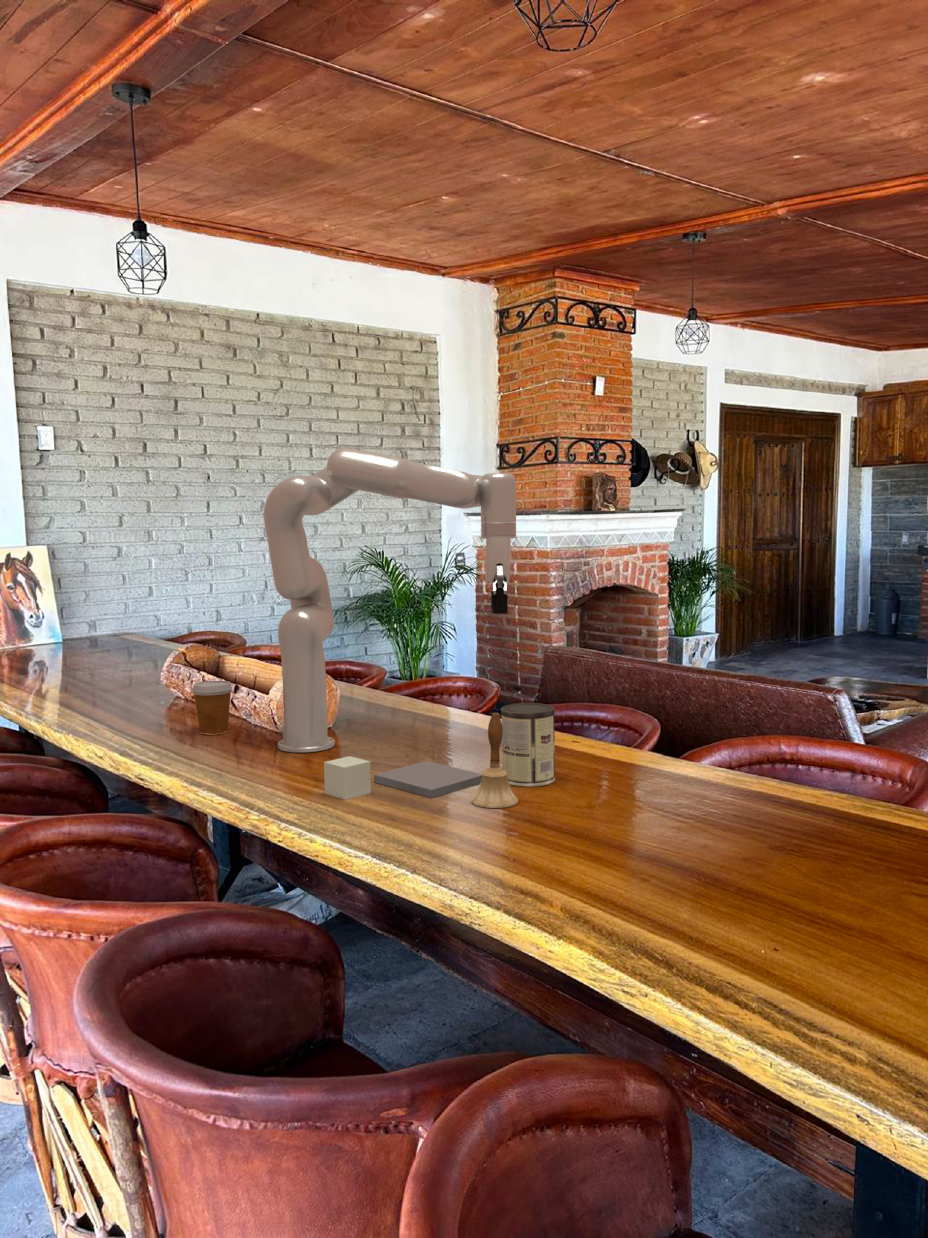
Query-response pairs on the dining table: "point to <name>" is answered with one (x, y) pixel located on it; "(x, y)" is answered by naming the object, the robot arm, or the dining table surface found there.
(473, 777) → the slate board
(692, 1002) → the dining table surface
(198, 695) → the disposable coffee cup
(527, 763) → the coffee can
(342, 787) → the cube
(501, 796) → the hand bell
